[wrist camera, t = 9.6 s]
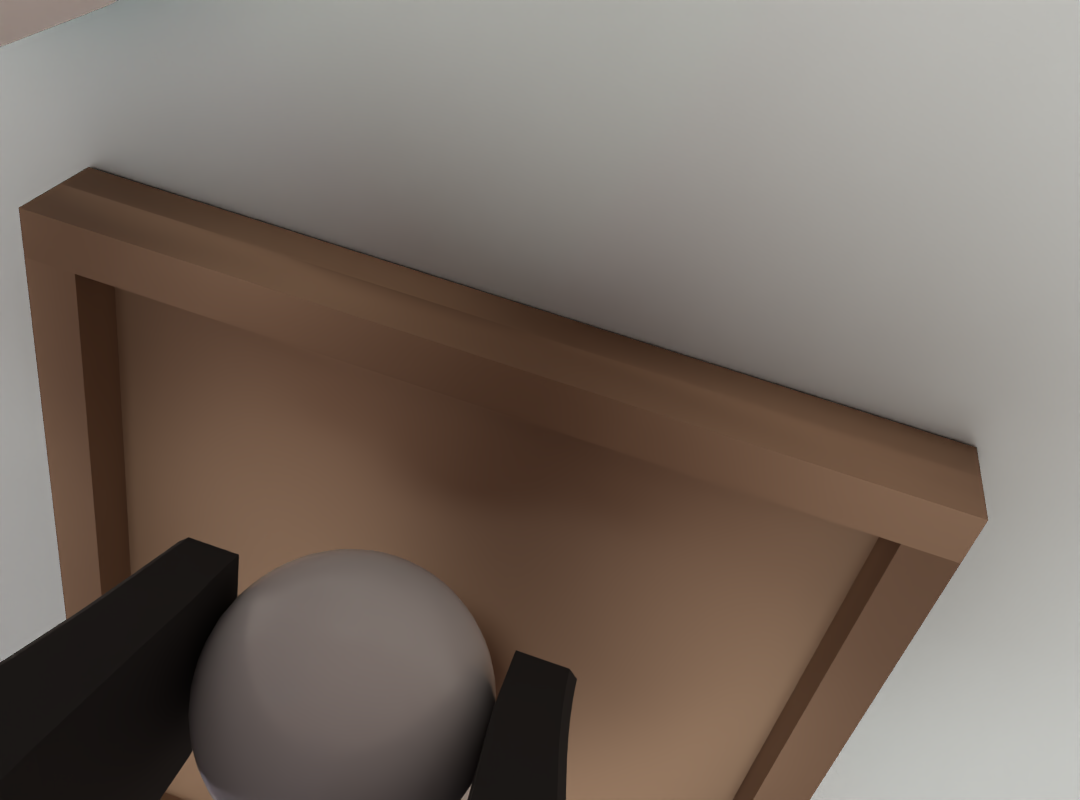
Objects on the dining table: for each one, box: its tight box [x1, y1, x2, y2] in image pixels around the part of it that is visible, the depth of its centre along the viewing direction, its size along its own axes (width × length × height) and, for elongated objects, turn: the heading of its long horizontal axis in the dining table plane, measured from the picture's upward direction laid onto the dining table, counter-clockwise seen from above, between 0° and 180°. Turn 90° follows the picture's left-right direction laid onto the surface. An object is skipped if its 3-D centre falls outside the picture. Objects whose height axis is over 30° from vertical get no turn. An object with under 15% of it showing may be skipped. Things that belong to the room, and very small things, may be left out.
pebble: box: [188, 549, 496, 800], centre depth 11 cm, size 3×3×3 cm
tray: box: [19, 167, 988, 800], centre depth 17 cm, size 12×14×1 cm
